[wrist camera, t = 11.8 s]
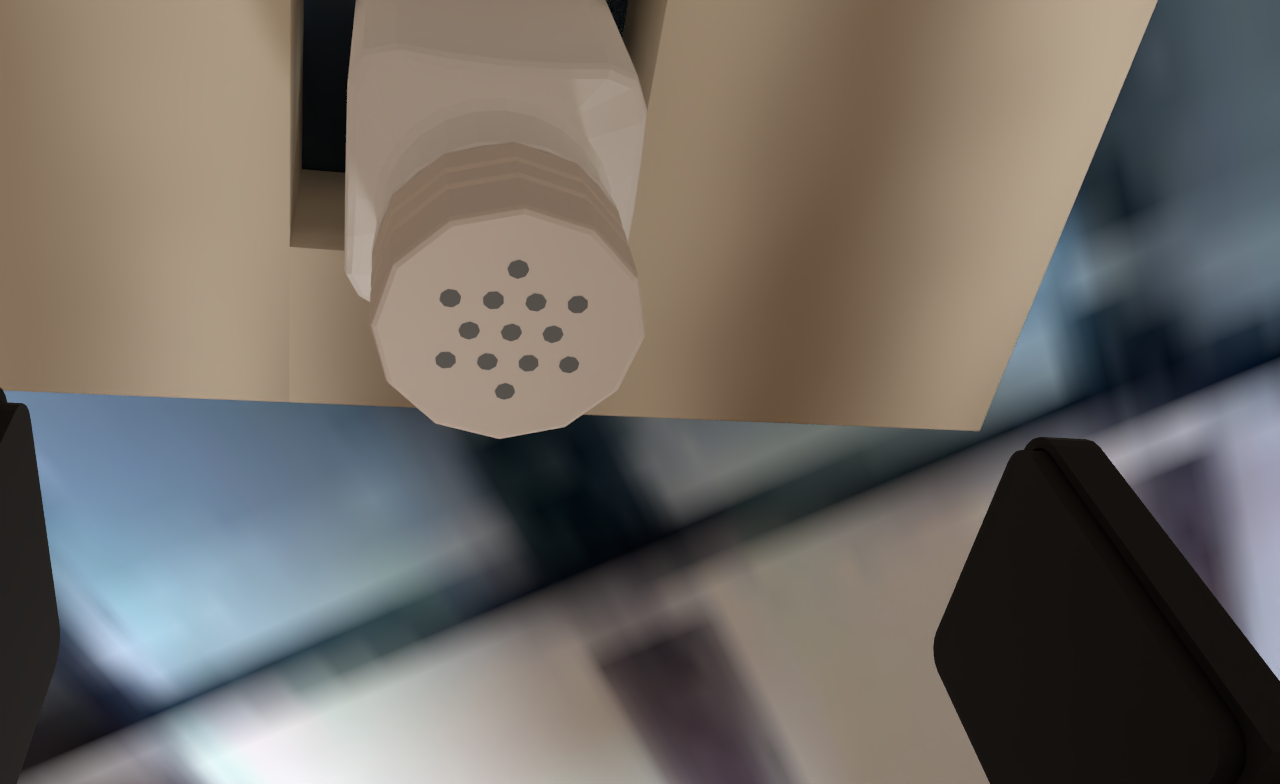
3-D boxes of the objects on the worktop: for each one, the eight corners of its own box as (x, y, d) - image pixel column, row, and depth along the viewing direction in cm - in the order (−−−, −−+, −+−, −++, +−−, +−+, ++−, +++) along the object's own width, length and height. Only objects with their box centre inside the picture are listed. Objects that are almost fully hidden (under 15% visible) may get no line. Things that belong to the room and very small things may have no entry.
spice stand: (1140, -231, 20) (1239, -199, 18) (928, 350, 27) (979, 430, 25) (-349, -510, 15) (-488, -518, 13) (-158, 288, 22) (-225, 380, 20)
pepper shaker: (570, 157, 23) (651, 470, 15) (356, 140, 22) (331, 464, 14) (597, -56, 21) (709, 187, 13) (361, -83, 20) (335, 160, 12)
